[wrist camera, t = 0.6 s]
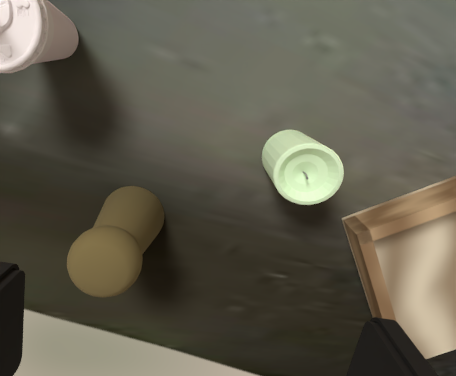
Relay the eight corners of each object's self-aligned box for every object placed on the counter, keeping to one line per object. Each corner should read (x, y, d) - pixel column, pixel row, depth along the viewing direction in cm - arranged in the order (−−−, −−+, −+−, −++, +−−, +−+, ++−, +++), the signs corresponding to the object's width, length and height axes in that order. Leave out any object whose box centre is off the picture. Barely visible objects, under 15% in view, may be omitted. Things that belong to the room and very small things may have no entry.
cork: (177, 222, 35) (161, 281, 24) (129, 254, 36) (93, 326, 25) (138, 173, 33) (103, 215, 23) (89, 208, 34) (33, 264, 24)
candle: (282, 191, 35) (302, 223, 27) (250, 152, 33) (262, 173, 25) (324, 159, 34) (357, 183, 26) (294, 118, 33) (319, 129, 25)
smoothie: (104, 13, 30) (12, -46, 16) (83, 87, 31) (-16, 90, 18) (26, -20, 29) (-139, -111, 15) (9, 58, 30) (-154, 39, 17)
